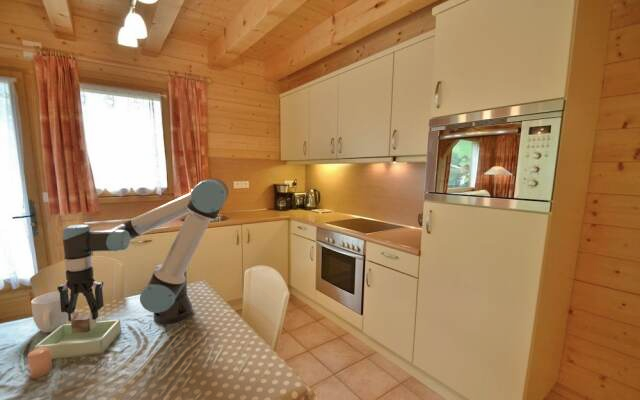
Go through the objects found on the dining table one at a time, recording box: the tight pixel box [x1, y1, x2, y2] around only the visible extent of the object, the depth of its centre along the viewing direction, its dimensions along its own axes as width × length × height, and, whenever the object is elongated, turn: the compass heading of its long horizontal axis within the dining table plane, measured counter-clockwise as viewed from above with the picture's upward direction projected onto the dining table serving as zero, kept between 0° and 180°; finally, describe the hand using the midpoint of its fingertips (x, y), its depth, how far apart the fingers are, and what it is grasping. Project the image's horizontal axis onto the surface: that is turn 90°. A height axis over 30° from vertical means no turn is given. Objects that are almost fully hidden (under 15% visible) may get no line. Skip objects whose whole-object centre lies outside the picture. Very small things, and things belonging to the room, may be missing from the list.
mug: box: [30, 291, 70, 333], centre depth 110 cm, size 15×11×13 cm
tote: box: [33, 319, 122, 360], centre depth 102 cm, size 20×14×5 cm
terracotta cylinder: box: [27, 347, 53, 379], centre depth 89 cm, size 5×5×7 cm
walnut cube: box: [70, 312, 91, 334], centre depth 104 cm, size 5×5×5 cm
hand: (84, 327), depth 104 cm, fingers closed on walnut cube, 5 cm apart
